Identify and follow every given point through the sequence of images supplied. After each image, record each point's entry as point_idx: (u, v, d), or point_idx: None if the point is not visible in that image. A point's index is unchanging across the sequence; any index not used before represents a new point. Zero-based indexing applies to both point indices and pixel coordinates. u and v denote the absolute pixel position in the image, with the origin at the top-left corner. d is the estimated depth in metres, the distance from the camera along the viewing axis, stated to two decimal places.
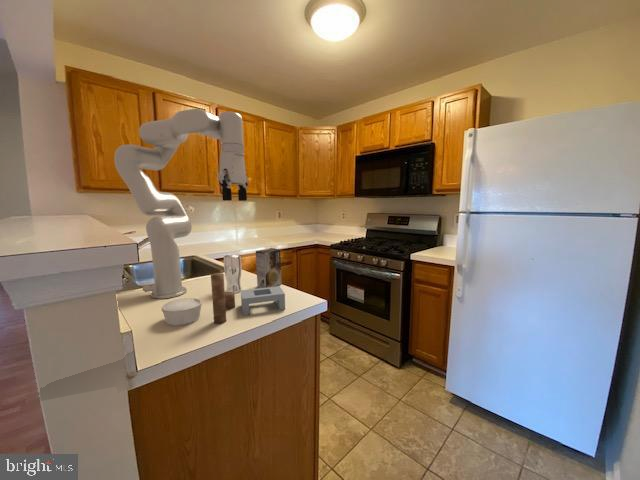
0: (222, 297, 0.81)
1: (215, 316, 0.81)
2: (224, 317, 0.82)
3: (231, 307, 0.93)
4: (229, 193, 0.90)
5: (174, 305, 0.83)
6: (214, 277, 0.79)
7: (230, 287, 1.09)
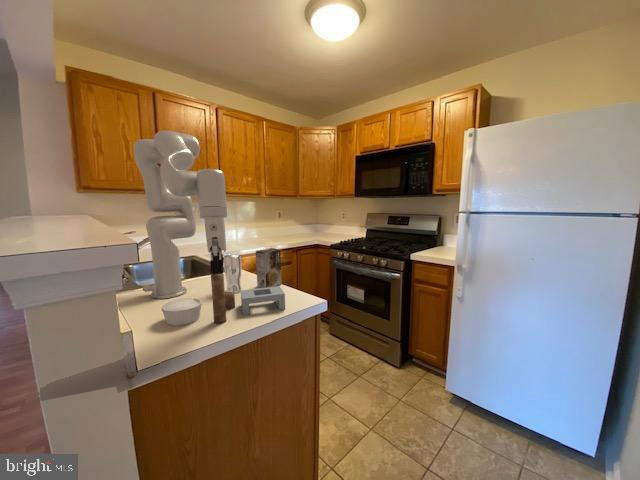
0: (222, 297, 0.81)
1: (215, 316, 0.81)
2: (224, 317, 0.82)
3: (231, 307, 0.93)
4: None
5: (174, 305, 0.83)
6: (214, 277, 0.79)
7: (230, 287, 1.09)
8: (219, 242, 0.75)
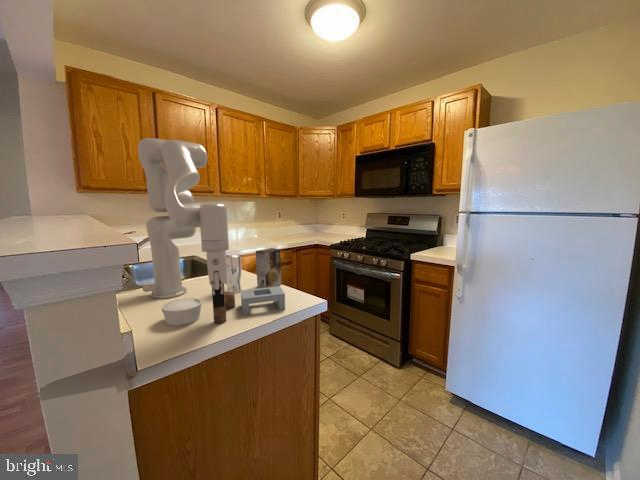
0: None
1: (215, 316, 0.81)
2: (224, 317, 0.82)
3: (231, 307, 0.93)
4: None
5: (174, 305, 0.83)
6: None
7: (230, 287, 1.09)
8: (221, 275, 0.77)
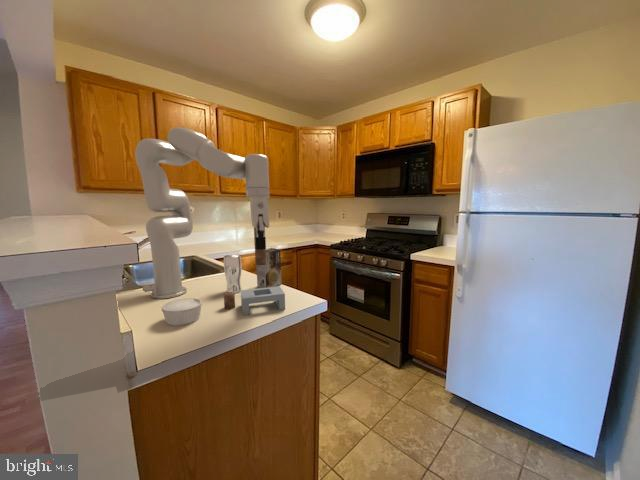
0: None
1: (257, 258, 0.90)
2: (265, 260, 0.91)
3: (231, 307, 0.93)
4: None
5: (174, 305, 0.83)
6: None
7: (230, 287, 1.09)
8: (264, 219, 0.86)
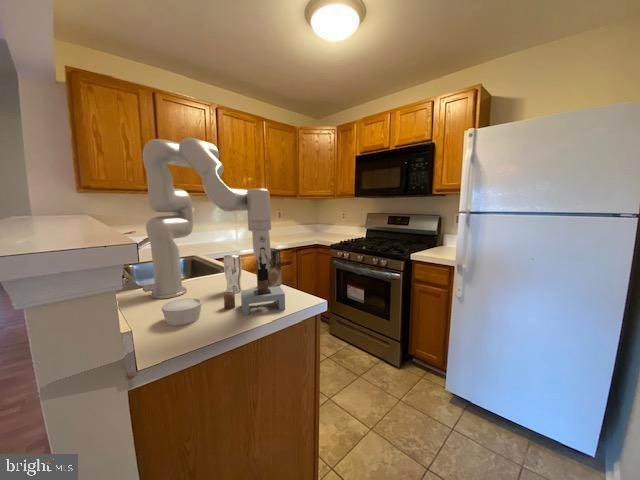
0: None
1: (259, 289, 0.92)
2: (267, 290, 0.93)
3: (231, 307, 0.93)
4: None
5: (174, 305, 0.83)
6: None
7: (230, 287, 1.09)
8: (266, 252, 0.87)
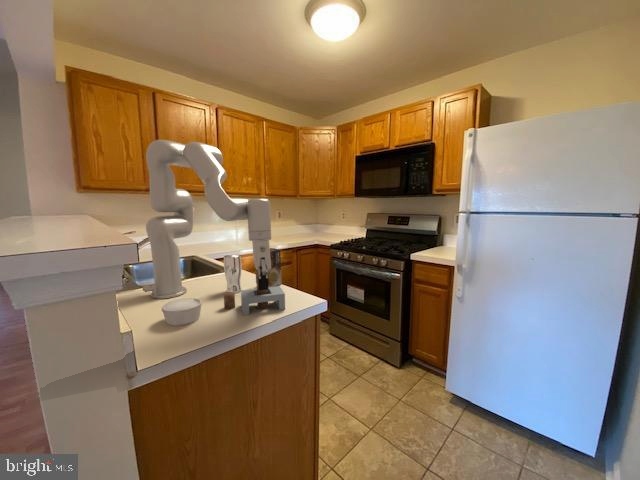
0: None
1: None
2: (267, 303, 0.93)
3: (231, 307, 0.93)
4: None
5: (174, 305, 0.83)
6: None
7: (230, 287, 1.09)
8: (266, 261, 0.88)
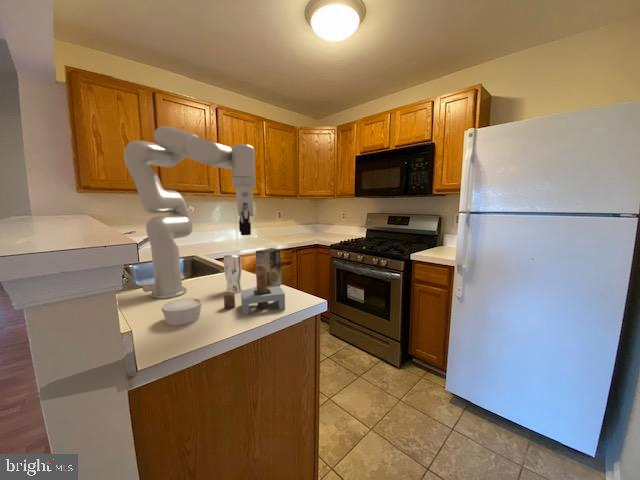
0: (265, 285, 0.92)
1: None
2: (267, 303, 0.93)
3: (231, 307, 0.93)
4: None
5: (174, 305, 0.83)
6: (259, 267, 0.91)
7: (230, 287, 1.09)
8: (249, 208, 0.88)
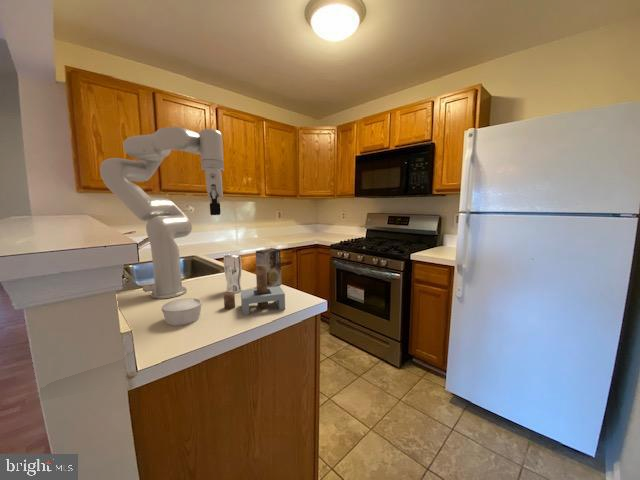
0: (265, 285, 0.92)
1: None
2: (267, 303, 0.93)
3: (231, 307, 0.93)
4: None
5: (174, 305, 0.83)
6: (259, 267, 0.91)
7: (230, 287, 1.09)
8: (217, 189, 0.93)
